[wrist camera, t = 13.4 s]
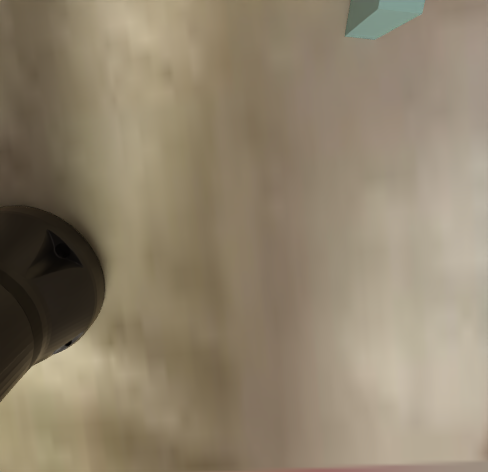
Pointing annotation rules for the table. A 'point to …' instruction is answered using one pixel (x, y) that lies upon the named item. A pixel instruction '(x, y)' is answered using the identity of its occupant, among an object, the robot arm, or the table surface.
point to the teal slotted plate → (380, 16)
